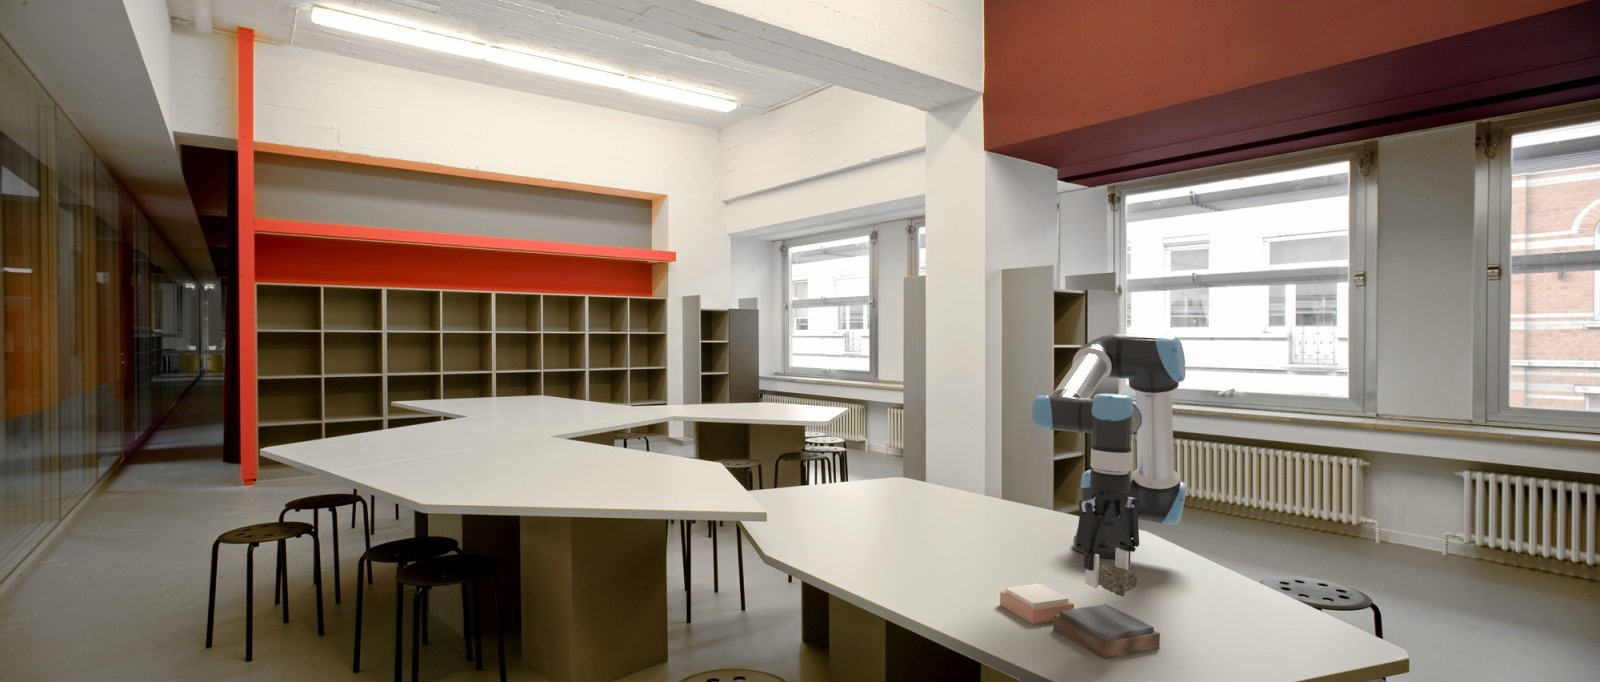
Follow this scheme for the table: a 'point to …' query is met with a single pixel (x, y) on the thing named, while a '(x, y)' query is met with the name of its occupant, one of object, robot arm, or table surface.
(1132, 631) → the walnut plinth
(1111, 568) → the rock
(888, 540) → the table surface
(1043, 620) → the terracotta plinth
